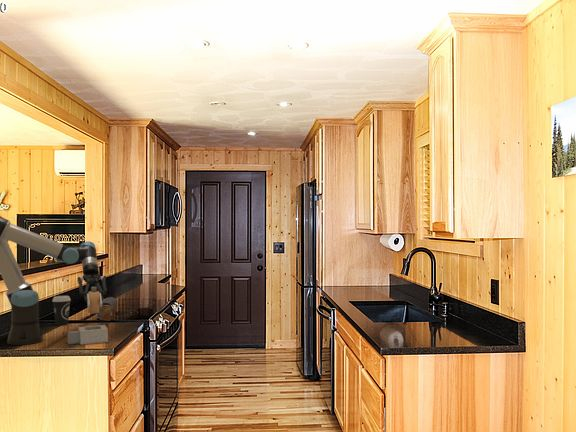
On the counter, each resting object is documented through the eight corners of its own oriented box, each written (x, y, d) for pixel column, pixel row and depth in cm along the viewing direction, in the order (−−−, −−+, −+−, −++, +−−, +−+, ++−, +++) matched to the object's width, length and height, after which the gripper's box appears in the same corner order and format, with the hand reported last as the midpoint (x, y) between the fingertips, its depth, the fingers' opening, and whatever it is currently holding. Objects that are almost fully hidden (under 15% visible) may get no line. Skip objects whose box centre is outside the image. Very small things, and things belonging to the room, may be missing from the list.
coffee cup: (66, 321, 312) (66, 295, 312) (74, 324, 305) (73, 296, 305) (49, 324, 305) (49, 296, 305) (56, 326, 298) (56, 298, 298)
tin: (96, 319, 319) (96, 304, 319) (101, 318, 321) (101, 303, 321) (112, 321, 310) (111, 306, 310) (116, 321, 312) (116, 306, 312)
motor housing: (107, 342, 259) (107, 329, 259) (68, 345, 252) (68, 332, 252) (104, 337, 270) (104, 324, 270) (67, 340, 263) (67, 328, 263)
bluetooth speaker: (113, 318, 320) (113, 301, 320) (96, 319, 319) (96, 301, 319) (118, 312, 343) (118, 295, 343) (102, 312, 341) (102, 296, 341)
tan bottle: (93, 313, 267) (93, 288, 267) (86, 312, 269) (86, 287, 269) (101, 312, 271) (101, 286, 271) (94, 311, 274) (94, 285, 273)
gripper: (108, 271, 288) (113, 309, 273) (70, 273, 280) (74, 312, 265) (109, 262, 283) (115, 299, 268) (72, 264, 275) (75, 302, 260)
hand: (95, 305), depth 267 cm, fingers closed on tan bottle, 5 cm apart
